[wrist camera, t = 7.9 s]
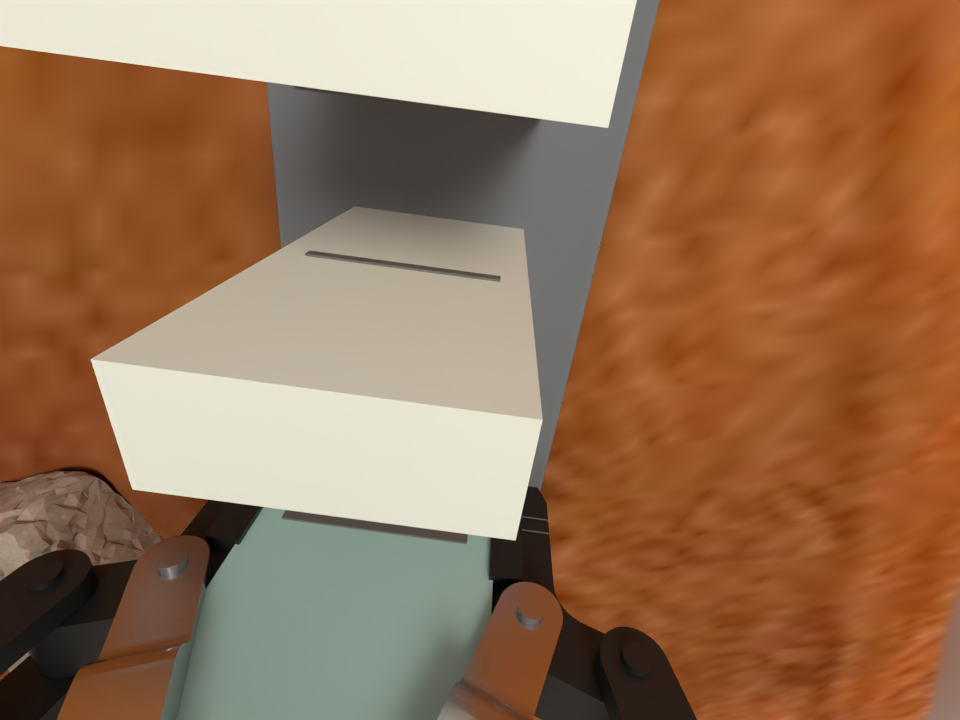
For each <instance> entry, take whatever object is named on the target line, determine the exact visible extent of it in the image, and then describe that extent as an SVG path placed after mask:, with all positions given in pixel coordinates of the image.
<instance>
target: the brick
mask: <svg viewBox="0 0 960 720" xmlns="http://www.w3.org/2000/svg"><path fill="white" fill-rule="evenodd" d="M161 541H164V540H163V539H162V538H161V537H160V536H159V535H158V534H157V533H156V531H155V530H154V529H153V528H152V527H151V526H150V524H149V523H148V522H147V521H146V520H145V519H144V518H143V517H142V516H141V514H140V513H139V512H138V511H137V510H136V509H135V508H134V507H133V506H132V505H130V504H129V503H127V502H126V501H125V500H124V498H123V497H122V496H121V495H119V494H117V493H115V492H114V491H113V490H112V489H111V488H110V487H109V486H108V485H107V484H106V483H105V482H104V481H103V480H101V479H99V478H97V477H95V476H92V475H90V474H88V473H85V472H79V471H72V472H69V471H55V472H51V473H44V474H39V475H36V476H33V477H30V478H27V479H24V480H21V481H18V482H5V483H0V581H1V580H2V579H3V578H5V577H6V576H8V575H9V574H10V573H12V572H13V571H15V570H16V569H17V568H19V567H20V566H22V565H23V564H25V563H26V562H28V561H30V560H32V559H34V558H36V557H38V556H41V555H43V554H46V553H49V552H53V551H57V550H63V549H75V550H80V551H83V552H84V553H86V554H87V555H88V556H89V558H90V561H91V563H92V565H93V566H95V565H103V564H110V563H117V562H124V561H131V560H137V559H139V558H140V557H141V556H142V555H143V553H145V552H146V551H147V550H148V549H149V548H151V547H152V546H154V545H156V544H157V543H159V542H161ZM29 655H30V654H29V652H27V653H26V654H25V655H24V656H23V657H22V658H20V659H19V660H18V661H17V662H16V663H15V664H13V665H12V666H11V667H10V668H9V669H8V671H9V672H11V671H12V670H13V669H15V668H16V667H17V666H18V665H19V664H20V663H21V662H23V661H24V660H25V659H26V658H27V657H28V656H29Z"/></svg>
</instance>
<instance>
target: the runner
mask: <svg viewBox="0 0 960 720" xmlns="http://www.w3.org/2000/svg"><path fill="white" fill-rule="evenodd" d="M659 1H660V0H637V2H636V6H635V11H634V15H633V20H632V24H631V28H630V33H629V37H628V42H627V46H626V51H625V55H624V60H623V64H622V69H621V73H620V78H619V82H618V86H617V91H616V95H615V100H614V104H613V109H612V113H611V118H610V122H609V127H608V128H604V127H597V126H589V125H582V124H575V123H567V122H560V121H552V120H545V119H537V118H530V117H524V120H520V119H513V118H506V117H498V116H491V115H483V114H476V113H469V112H461V111H454V110H446V109H439V108H432V107H424V106H417V105H409V104H402V103H395V102H387V101H380V100H372V99H365V98H358V97H350V96H343V95H335V94H328V93H321V92H313V91H306V90H298V89H295V86H293V85H286V84H278V83H271V82H267V90H268V102H269V113H270V125H271V136H272V148H273V159H274V171H275V183H276V194H277V206H278V217H279V229H280V240H281V249H282V248H284V247H285V246H287V245H289V244H291V243H292V242H294V241H296V240H297V239H299V238H301V237H303V236H304V235H306V234H308V233H310V232H311V231H313V230H315V229H316V228H318V227H320V226H322V225H323V224H325V223H327V222H329V221H330V220H332V219H334V218H335V217H337V216H339V215H341V214H342V213H344V212H346V211H348V210H349V209H351V208H353V207H354V206H356V207H363V208H371V209H378V210H385V211H393V212H400V213H408V214H415V215H422V216H430V217H437V218H445V219H452V220H460V221H467V222H474V223H482V224H489V225H497V226H504V227H512V228H519V229H524V238H525V248H526V258H527V268H528V278H529V288H530V298H531V308H532V318H533V328H534V338H535V348H536V358H537V368H538V378H539V388H540V398H541V408H542V418H543V421H542V425H541V430H540V434H539V439H538V443H537V448H536V452H535V456H534V461H533V465H532V470H531V474H530V479H529V483H528V486H530V487H537V488H538V489H539V491H540V490H541V486H542V482H543V478H544V474H545V470H546V466H547V462H548V457H549V453H550V449H551V445H552V441H553V437H554V433H555V429H556V425H557V420H558V416H559V412H560V408H561V404H562V400H563V396H564V392H565V388H566V383H567V379H568V375H569V371H570V367H571V363H572V359H573V355H574V350H575V346H576V342H577V338H578V334H579V330H580V326H581V322H582V318H583V313H584V309H585V305H586V301H587V297H588V293H589V289H590V285H591V281H592V276H593V272H594V268H595V264H596V260H597V256H598V252H599V248H600V244H601V239H602V235H603V231H604V227H605V223H606V219H607V215H608V211H609V207H610V202H611V198H612V194H613V190H614V186H615V182H616V178H617V174H618V169H619V165H620V161H621V157H622V153H623V149H624V145H625V141H626V137H627V132H628V128H629V124H630V120H631V116H632V112H633V108H634V104H635V100H636V95H637V91H638V87H639V83H640V79H641V75H642V71H643V67H644V63H645V58H646V54H647V50H648V46H649V42H650V38H651V34H652V30H653V25H654V21H655V17H656V13H657V9H658V5H659Z"/></svg>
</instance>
